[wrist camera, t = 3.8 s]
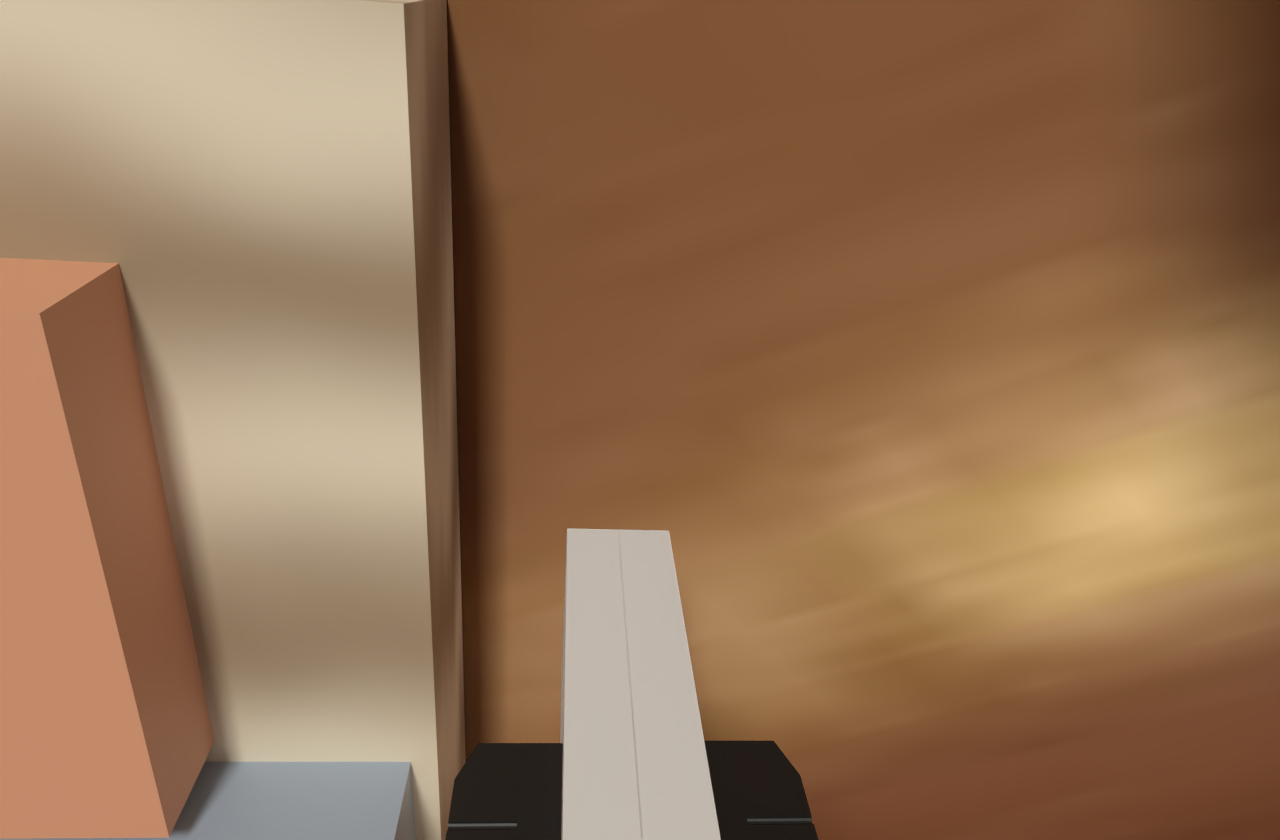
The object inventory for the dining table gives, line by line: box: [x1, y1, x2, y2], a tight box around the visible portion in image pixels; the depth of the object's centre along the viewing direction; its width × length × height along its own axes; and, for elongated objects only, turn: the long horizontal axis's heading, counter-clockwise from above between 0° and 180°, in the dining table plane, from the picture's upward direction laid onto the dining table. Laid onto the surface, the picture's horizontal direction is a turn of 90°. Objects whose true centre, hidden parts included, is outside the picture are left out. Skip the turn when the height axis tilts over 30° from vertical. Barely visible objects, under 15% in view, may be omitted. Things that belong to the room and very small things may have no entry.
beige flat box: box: [0, 0, 466, 840], centre depth 17 cm, size 20×12×4 cm, turn 176°
